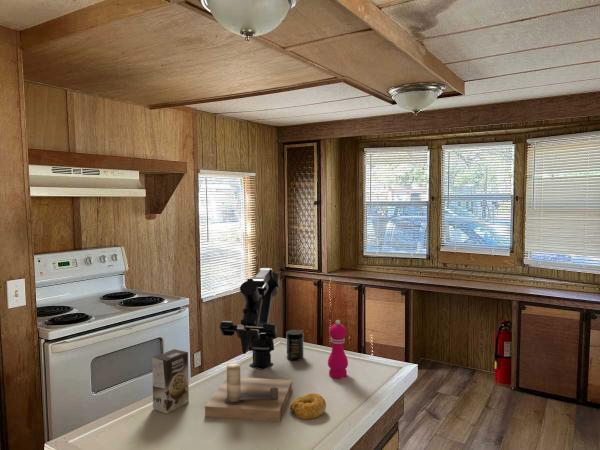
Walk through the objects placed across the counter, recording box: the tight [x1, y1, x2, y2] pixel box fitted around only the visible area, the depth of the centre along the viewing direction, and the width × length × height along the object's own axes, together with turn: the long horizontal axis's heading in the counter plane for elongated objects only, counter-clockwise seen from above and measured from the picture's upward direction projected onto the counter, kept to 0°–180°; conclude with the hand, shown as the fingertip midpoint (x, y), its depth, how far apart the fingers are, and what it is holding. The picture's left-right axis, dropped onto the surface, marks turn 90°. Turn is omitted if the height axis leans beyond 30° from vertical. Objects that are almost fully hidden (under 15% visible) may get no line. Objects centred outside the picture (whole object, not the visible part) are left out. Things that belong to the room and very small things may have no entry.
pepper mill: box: [327, 319, 349, 379], centre depth 161 cm, size 7×7×20 cm
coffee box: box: [151, 348, 190, 414], centre depth 138 cm, size 9×6×16 cm
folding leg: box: [226, 363, 278, 402], centre depth 135 cm, size 4×15×10 cm, turn 97°
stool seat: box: [204, 376, 293, 422], centre depth 141 cm, size 22×22×3 cm
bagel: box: [289, 392, 327, 420], centre depth 134 cm, size 10×11×5 cm
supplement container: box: [285, 329, 304, 362], centre depth 179 cm, size 7×7×10 cm
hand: (244, 353), depth 146 cm, fingers closed
